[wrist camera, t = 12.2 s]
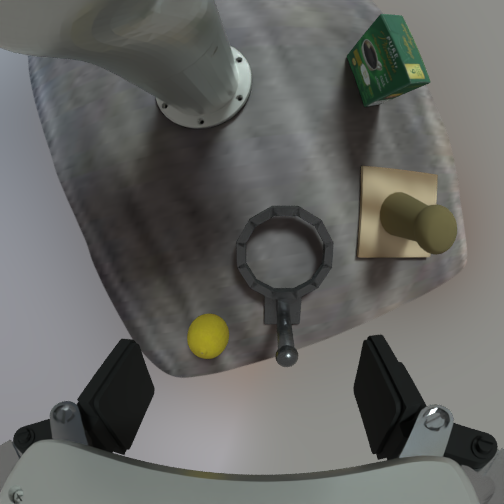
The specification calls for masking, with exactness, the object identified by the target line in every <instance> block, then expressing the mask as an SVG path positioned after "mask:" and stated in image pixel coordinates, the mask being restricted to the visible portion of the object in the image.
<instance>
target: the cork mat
mask: <svg viewBox="0 0 504 504" xmlns="http://www.w3.org/2000/svg"><path fill="white" fill-rule="evenodd" d="M395 192H403V193H406V194H408V195H410V196H412V197H414V198H415V199H417V200H419V201H421V202H423V203H424V204H426V205H428V206H429V205H436V198H437V175H435V174H429V173H422V172H414V171H407V170H399V169H390V168H380V167H369V166H361V196H360V218H359V233H358V246H357V257H358V258H377V257H430V253H427V252H426V251H424V250H423V249H422V248H421V247H420V246H419V245H418V243H417V242H416V241H412V240H408V239H405V238H401V237H397V236H394V235H390V234H389V233H388V232H386V231H385V229H384V228H383V226H382V224H381V221H380V210H381V205H382V204H383V202H384V200H385V199H386V198H387V197H388V196H389V195H390V194H393V193H395Z"/></svg>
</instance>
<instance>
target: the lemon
mask: <svg viewBox="0 0 504 504" xmlns="http://www.w3.org/2000/svg"><path fill="white" fill-rule="evenodd" d="M228 339H229V330H228V327H227V325H226V323H225V321H224V320H223V319H222V318H220V317H219V316H217V315H215V314H203V315H201V316H199V317H197V318H196V319H195V320H194V321H193V322H192V324H191V325H190V327H189V330H188V335H187V340H188V345H189V348H190V350H191V351H192V352H193V353H194V354H195V355H196V356H198V357H200V358H204V359H211V358H215V357H217V356H218V355H220V354H221V353H222V352H223V350H224V349H225V347H226V345H227V343H228Z"/></svg>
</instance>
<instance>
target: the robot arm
mask: <svg viewBox="0 0 504 504" xmlns="http://www.w3.org/2000/svg"><path fill="white" fill-rule="evenodd" d="M0 48H2V49H5V50H8V51H11V52H14V53H19V54H25V55H29V56H37V57H48V58H60V59H72V60H78V61H84V62H87V63H91V64H94V65H97V66H99V67H101V68H104V69H106V70H108V71H110V72H112V73H114V74H116V75H118V76H120V77H121V78H123V79H125V80H127V81H128V82H130V83H132V84H134V85H136V86H137V87H139V88H141V89H143V90H144V91H146V92H148V93H150V94H151V95H153V96H155V97H156V101H157V104H158V106H159V108H160V110H161V111H162V113H163V114H164V115H165V116H166V117H167V118H168V119H170V120H171V121H173V122H174V123H176V124H178V125H181V126H184V127H187V128H194V129H200V128H209V127H213V126H216V125H219V124H221V123H224V122H225V121H227V120H229V119H230V118H232V117H233V116H234V115H235V114H236V113H238V112H239V111H240V109H241V108H242V107H243V106H244V105H245V103H246V101H247V99H248V97H249V95H250V92H251V88H252V73H251V69H250V66H249V64H248V62H247V60H246V58H245V57H244V56H243V55H242V54H241V53H240V52H239V51H238V50H236V49H235V48H233V47H231V46H230V44H229V41H228V38H227V35H226V32H225V29H224V26H223V23H222V20H221V17H220V14H219V12H218V9H217V6H216V4H215V1H214V0H0ZM238 61H242V62H240V63H238ZM239 98H242V100H241V101H238V99H239ZM167 105H168V107H167V108H166V106H167ZM201 121H204V123H203V124H201ZM153 395H154V386H153V383H152V380H151V378H150V375H149V372H148V370H147V367H146V364H145V361H144V358H143V355H142V352H141V349H140V346H139V344H137V343H136V342H135V341H134V340H130V339H121V340H120V341H119V343H118V344H117V345H116V346H115V348H114V349H113V350H112V352H111V353H110V354H109V356H108V357H107V359H106V360H105V361H104V363H103V364H102V365H101V367H100V368H99V369H98V371H97V372H96V374H95V375H94V376H93V378H92V379H91V381H90V382H89V384H88V385H87V386H86V388H85V389H84V391H83V392H82V393H81V395H80V396H79V398H78V399H77V400H78V401H79V402H78V403H77V405H76V404H75V403H73V402H71V401H64V402H60V403H58V404H57V405H55V406H54V407H53V408H52V410H51V412H50V419H48V420H44V421H41V422H38V423H34V424H31V425H27V426H24V427H22V428H20V429H18V430H17V431H16V433H15V435H14V438H13V442H12V441H11V440H9V441H7V442H5V443H4V444H2V445H0V504H504V449H501V450H498V449H497V442H496V440H495V438H494V437H493V436H492V435H490V434H488V433H485V432H481V431H478V430H475V429H471V428H468V427H465V426H461V425H458V424H455V423H453V421H454V418H453V415H452V413H451V412H450V410H449V409H447V408H446V407H444V406H442V405H436V404H435V405H430V406H426V404H425V402H424V400H423V399H422V397H421V395H420V393H419V391H418V389H417V388H416V386H415V384H414V382H413V380H412V379H411V377H410V375H409V373H408V371H407V370H406V368H405V366H404V365H403V364H402V363H401V362H398V360H397V358H396V357H395V355H394V353H393V352H392V350H391V348H390V346H389V345H388V343H387V342H386V340H385V338H384V337H383V335H374V336H369V337H368V338H367V340H364V342H363V346H362V351H361V356H360V361H359V365H358V370H357V374H356V379H355V383H354V395H355V398H356V401H357V404H358V407H359V411H360V413H361V417H362V420H363V424H364V427H365V430H366V434H367V437H368V441H369V444H370V448H371V451H372V453H373V454H376V455H377V458H378V460H379V459H383V458H387V461H382V462H376V463H371V464H366V465H361V466H356V467H350V468H343V469H336V470H329V471H321V472H312V473H300V474H282V475H242V474H241V475H240V474H224V473H212V472H203V471H194V470H187V469H181V468H174V467H168V466H163V465H158V464H154V463H149V462H145V461H140V460H136V459H132V458H129V457H125V456H121V455H118V454H114V453H113V452H116V453H119V454H123V455H124V454H125V452H126V450H127V449H130V447H131V445H132V443H133V441H134V438H135V436H136V434H137V431H138V429H139V427H140V424H141V422H142V420H143V418H144V415H145V413H146V411H147V408H148V406H149V404H150V402H151V400H152V397H153Z"/></svg>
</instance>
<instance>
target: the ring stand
mask: <svg viewBox="0 0 504 504" xmlns="http://www.w3.org/2000/svg"><path fill="white" fill-rule="evenodd" d="M273 216H298V217H300V218H302V219H303V220H305V221H307V222H308V223H310V224H312V225H313V226H315V228H316V230H317V232H318V233H319V235H320V237H321V239H322V241H323V258H322V264H321V265H320V267H319V268H318V270H317V271H316V273H315V274H314V276H313V277H312V279H310V280H308V281H307V282H305V283H303V284H301V285H299V286H297V287H295V288H272V287H271V286H269V285H267V284H265V283H263V282H261V281H259V280H257V279H256V277H255V276H254V274H253V273H252V271H251V269H250V268H249V266H248V265H247V263H246V242H247V241H248V239H249V237H250V235H251V234H252V232H253V230H254V228H255V227H256V226H258V225H259V224H261V223H263V222H265V221H266V220H268V219H270V218H272V217H273ZM333 244H334V243H333V241H332V239H331V237H330V235H329V233H328V231H327V230H326V228H325V226H324V224H323V222H322V220H321V219H319V218H318V217H316V216H314V215H313V214H311V213H309V212H308V211H306V210H304V209H303V208H301V207H299V206H271V207H269V208H267V209H266V210H264V211H262V212H260V213H259V214H257V215H255V216H254V217H252V218H250V219H249V221H248V223H247V224H246V226H245V228H244V230H243V232H242V233H241V235H240V237H239V239H238V240H237V242H236V248H237V268H238V270H239V271H240V273H241V274H242V276H243V278H244V279H245V281H246V282H247V284H248V285H249V287H250V288H251V289H253V290H255V291H257V292H259V293H261V294H263V295H264V296H265V324H277V336H278V350H277V352H276V361H277V362H278V364H279V365H281V366H283V367H290V366H292V365H294V364H295V363H296V362H297V360H298V352H297V350H296V349H295V348H294V340H293V333H292V325H291V324H300V309H301V297H302V296H304V295H305V294H307V293H309V292H311V291H313V290H315V289H317V288H318V287H319V286H320V284H321V283H322V281H323V280H324V278H325V277H326V275H327V274H328V272H329V271H330V269H331V268H332V257H333Z"/></svg>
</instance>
